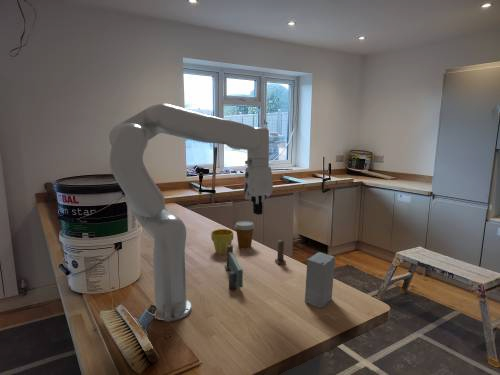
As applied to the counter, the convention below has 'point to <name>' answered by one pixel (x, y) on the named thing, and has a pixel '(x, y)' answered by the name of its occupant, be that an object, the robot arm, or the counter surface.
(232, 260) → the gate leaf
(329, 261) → the skincare box
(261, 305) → the counter surface
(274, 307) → the counter surface
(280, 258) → the gate posts
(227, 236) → the plant pot
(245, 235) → the disposable coffee cup
